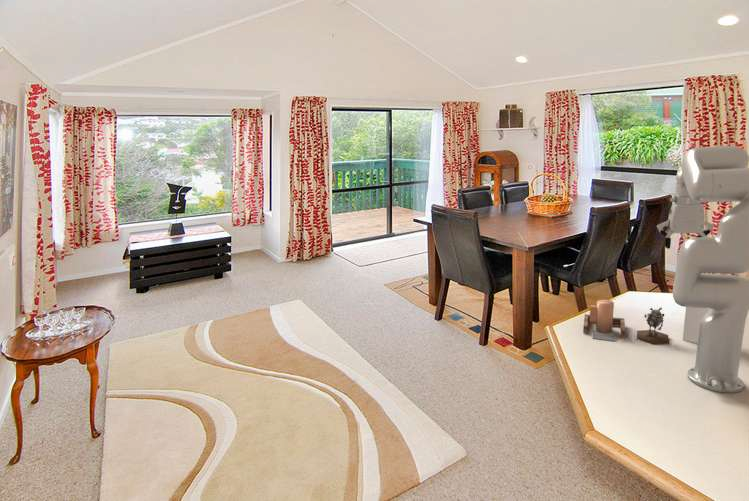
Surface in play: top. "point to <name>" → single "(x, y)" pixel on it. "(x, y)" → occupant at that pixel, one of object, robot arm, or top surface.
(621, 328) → the frame
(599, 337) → the mat
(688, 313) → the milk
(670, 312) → the top surface
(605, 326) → the peach rounded cylinder
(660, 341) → the robot figurine
